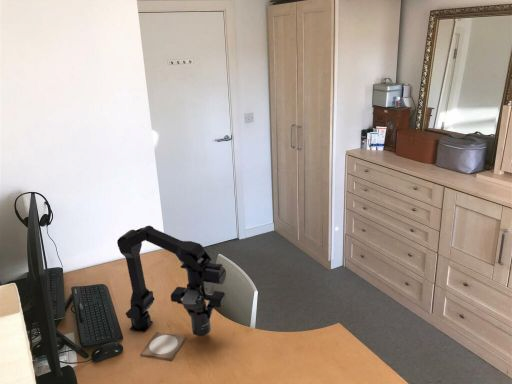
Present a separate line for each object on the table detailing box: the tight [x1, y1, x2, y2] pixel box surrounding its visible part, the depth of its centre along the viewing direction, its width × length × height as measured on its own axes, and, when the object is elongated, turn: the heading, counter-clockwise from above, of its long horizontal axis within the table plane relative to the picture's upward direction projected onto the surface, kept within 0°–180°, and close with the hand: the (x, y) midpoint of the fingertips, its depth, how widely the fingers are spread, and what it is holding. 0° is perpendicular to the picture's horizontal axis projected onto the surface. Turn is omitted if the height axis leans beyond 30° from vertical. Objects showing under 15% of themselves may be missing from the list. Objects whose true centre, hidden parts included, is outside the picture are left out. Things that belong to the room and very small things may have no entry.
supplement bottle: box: [189, 300, 212, 337], centre depth 159 cm, size 7×7×12 cm
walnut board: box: [140, 331, 187, 362], centre depth 159 cm, size 12×12×1 cm
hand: (200, 316), depth 159 cm, fingers closed on supplement bottle, 7 cm apart
